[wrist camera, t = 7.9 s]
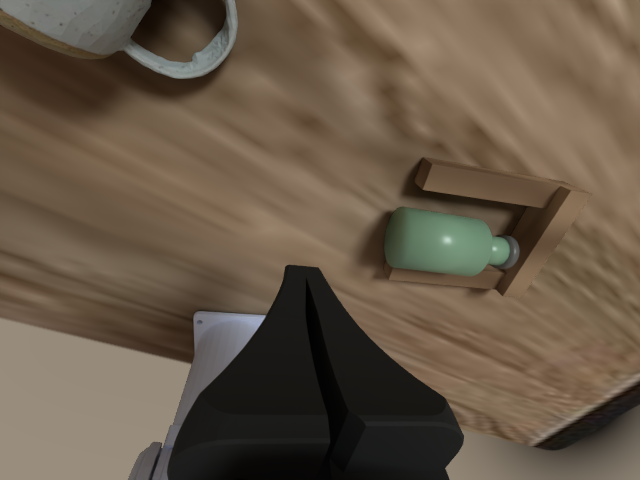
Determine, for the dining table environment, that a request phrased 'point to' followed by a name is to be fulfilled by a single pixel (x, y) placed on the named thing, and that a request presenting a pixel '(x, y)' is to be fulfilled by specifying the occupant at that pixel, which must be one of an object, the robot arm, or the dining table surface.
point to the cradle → (531, 231)
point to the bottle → (445, 243)
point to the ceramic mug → (108, 32)
